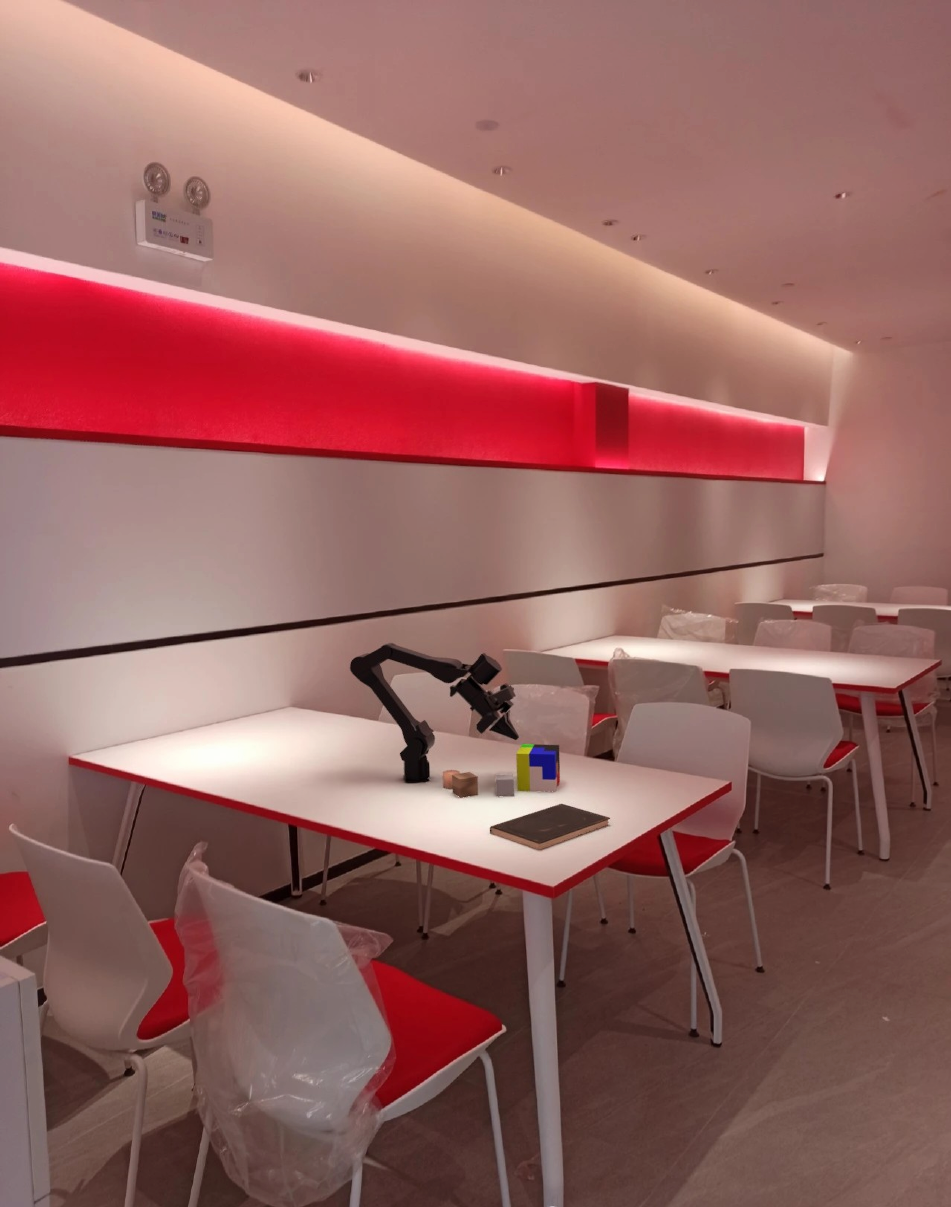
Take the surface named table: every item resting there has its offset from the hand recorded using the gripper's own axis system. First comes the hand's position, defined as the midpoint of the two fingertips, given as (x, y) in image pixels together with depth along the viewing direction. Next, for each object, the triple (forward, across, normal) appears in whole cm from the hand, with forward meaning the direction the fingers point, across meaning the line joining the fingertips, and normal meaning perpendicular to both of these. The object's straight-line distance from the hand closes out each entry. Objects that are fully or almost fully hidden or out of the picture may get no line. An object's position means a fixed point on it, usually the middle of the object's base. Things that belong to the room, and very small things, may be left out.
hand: (517, 738), depth 250 cm
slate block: (+8, -8, +10) cm, 15 cm away
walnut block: (+1, -10, +17) cm, 20 cm away
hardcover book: (+20, -33, -1) cm, 38 cm away
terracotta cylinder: (-3, -5, +21) cm, 22 cm away
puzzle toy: (+13, 0, +5) cm, 14 cm away
